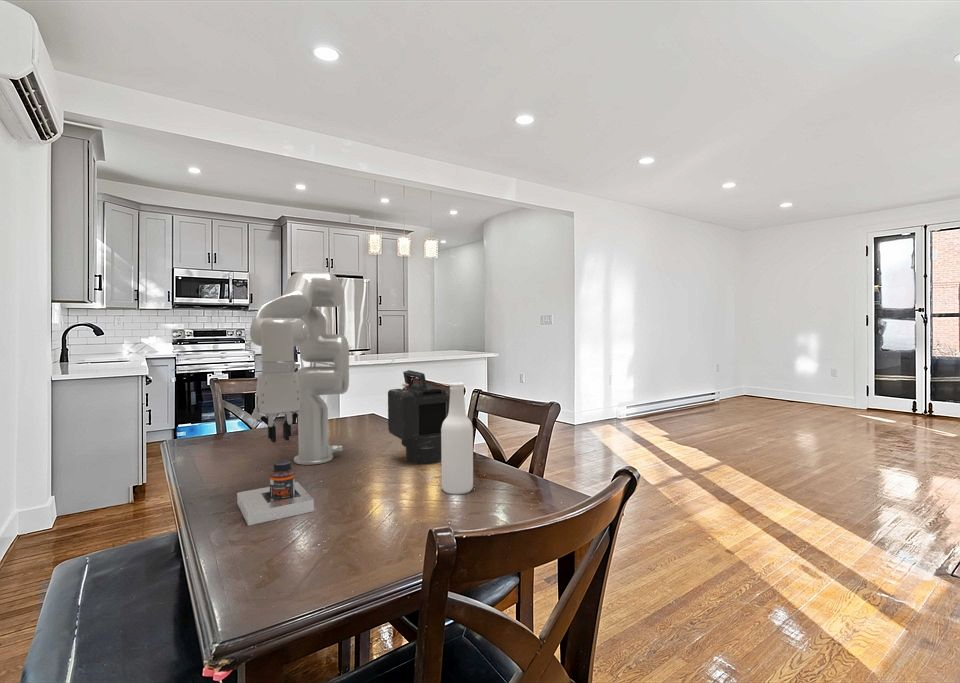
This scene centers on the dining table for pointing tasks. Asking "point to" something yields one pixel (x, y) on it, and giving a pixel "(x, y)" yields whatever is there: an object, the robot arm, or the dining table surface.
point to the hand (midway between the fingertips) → (279, 439)
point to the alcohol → (457, 445)
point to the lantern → (418, 418)
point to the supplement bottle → (282, 481)
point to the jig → (272, 505)
